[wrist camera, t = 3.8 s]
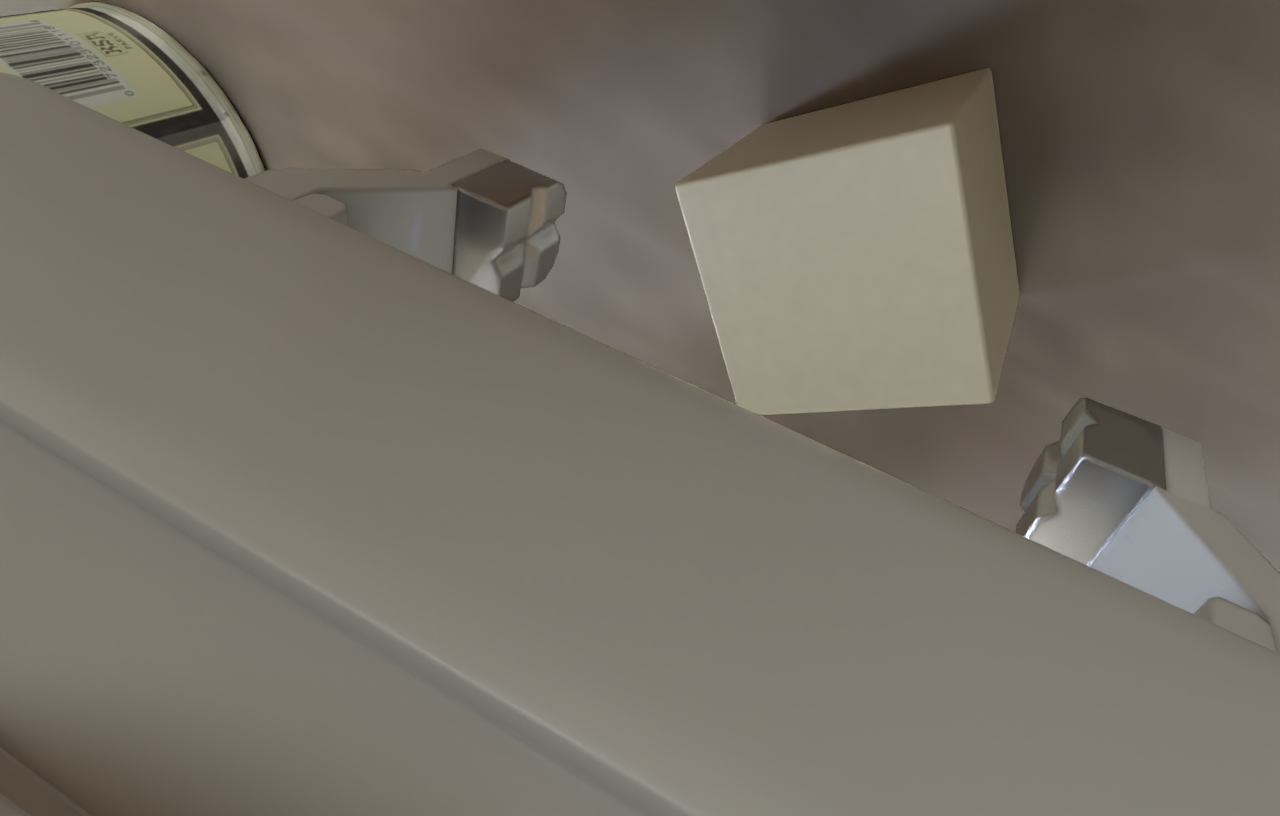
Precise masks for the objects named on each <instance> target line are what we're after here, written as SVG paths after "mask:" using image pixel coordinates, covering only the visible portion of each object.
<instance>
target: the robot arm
mask: <svg viewBox="0 0 1280 816" xmlns="http://www.w3.org/2000/svg"><path fill="white" fill-rule="evenodd" d="M566 195H567V193H566V190H565V187H564V184H563V183H561V182H558V181H556V180H554V179H551V178H549V177H547V176H545V175H542V174H540V173H538V172H535V171H533V170H531V169H528V168H526V167H524V166H521V165H519V164H517V163H514V162H512V161H510V160H509V159H507V158H504V157H502V156H499V155H496V154H494V153H491V152H488V151H485V150H483V149H479V150H477V151H474V152H472V153H469V154H467V155H465V156H462V157H460V158H457V159H455V160H453V161H450V162H448V163H445V164H443V165H441V166H438V167H436V168H433V169H431V170H429V171H426V172H424V173H421V172H419V171H417V170H383V169H270V170H267V171H264V172H261V173H258V174H255V175H253V176H250V177H247V178H244V179H243V178H241V177H239V176H237V175H234V174H232V173H230V172H228V171H226V170H224V169H221V168H219V167H217V166H215V165H213V164H210V163H208V162H206V161H204V160H202V159H200V158H197V157H195V156H193V155H191V154H189V153H186V152H184V151H182V150H180V149H178V148H175V147H173V146H171V145H169V144H167V143H165V142H162V141H160V140H158V139H156V138H154V137H151V136H149V135H147V134H145V133H143V132H141V131H138V130H136V129H134V128H132V127H130V126H127V125H125V124H123V123H121V122H119V121H117V120H114V119H112V118H110V117H108V116H106V115H103V114H101V113H99V112H97V111H95V110H93V109H90V108H88V107H86V106H84V105H82V104H79V103H77V102H75V101H73V100H71V99H69V98H67V97H65V96H63V95H61V94H59V93H57V92H55V91H53V90H51V89H49V88H47V87H45V86H43V85H40V84H38V83H36V82H34V81H31V80H29V79H27V78H23V77H20V76H17V75H13V74H7V73H1V72H0V816H1280V573H1279V572H1278V571H1277V570H1276V569H1275V568H1274V567H1273V566H1272V565H1271V564H1270V563H1269V561H1268V560H1267V559H1266V558H1265V557H1264V556H1263V555H1262V554H1261V553H1260V552H1259V551H1258V550H1257V549H1256V548H1255V547H1254V546H1253V545H1252V544H1251V543H1250V542H1249V541H1248V540H1247V539H1246V537H1245V536H1244V535H1243V534H1242V533H1241V532H1240V531H1239V530H1238V529H1237V528H1236V527H1235V526H1234V525H1233V524H1232V523H1231V522H1230V521H1229V520H1228V519H1227V518H1226V517H1225V516H1224V515H1222V514H1220V513H1218V512H1215V511H1213V510H1212V506H1211V500H1210V493H1209V487H1208V481H1207V474H1206V468H1205V462H1204V456H1203V449H1202V445H1201V444H1200V443H1199V442H1198V441H1196V440H1194V439H1191V438H1188V437H1185V436H1183V435H1180V434H1177V433H1174V432H1172V431H1169V430H1166V429H1163V428H1161V426H1159V425H1156V424H1154V423H1151V422H1148V421H1146V420H1143V419H1141V418H1138V417H1136V416H1133V415H1130V414H1128V413H1125V412H1123V411H1120V410H1117V409H1115V408H1112V407H1110V406H1107V405H1104V404H1102V403H1099V402H1097V401H1094V400H1091V399H1089V398H1080V399H1079V400H1078V401H1077V402H1076V404H1075V405H1074V406H1073V407H1072V408H1071V410H1070V411H1069V413H1068V414H1067V416H1066V417H1065V418H1064V420H1063V421H1062V428H1061V436H1060V441H1058V442H1055V443H1053V444H1050V445H1048V446H1046V447H1045V448H1044V450H1043V451H1042V453H1041V455H1040V456H1039V458H1038V459H1037V461H1036V463H1035V464H1034V466H1033V468H1032V470H1031V472H1030V474H1029V476H1028V478H1027V480H1026V482H1025V485H1024V488H1023V491H1022V495H1021V500H1020V506H1021V508H1022V509H1023V511H1024V512H1025V513H1024V514H1023V516H1022V517H1021V518H1020V520H1019V521H1018V523H1017V525H1016V532H1013V531H1011V530H1009V529H1006V528H1004V527H1002V526H1000V525H998V524H995V523H993V522H991V521H989V520H987V519H985V518H982V517H980V516H978V515H976V514H974V513H971V512H969V511H967V510H965V509H963V508H961V507H958V506H956V505H954V504H952V503H950V502H947V501H945V500H943V499H941V498H939V497H937V496H934V495H932V494H930V493H928V492H926V491H924V490H921V489H919V488H917V487H915V486H913V485H910V484H908V483H906V482H904V481H902V480H900V479H897V478H895V477H893V476H891V475H889V474H886V473H884V472H882V471H880V470H878V469H876V468H873V467H871V466H869V465H867V464H865V463H862V462H860V461H858V460H856V459H854V458H852V457H849V456H847V455H845V454H843V453H841V452H838V451H836V450H834V449H832V448H830V447H828V446H825V445H823V444H821V443H819V442H817V441H814V440H812V439H810V438H808V437H806V436H804V435H801V434H799V433H797V432H795V431H793V430H791V429H788V428H786V427H784V426H782V425H780V424H777V423H775V422H773V421H771V420H769V419H767V418H764V417H762V416H760V415H758V414H756V413H753V412H751V411H749V410H747V409H745V408H743V407H740V406H738V405H736V404H734V403H732V402H729V401H727V400H725V399H723V398H721V397H719V396H716V395H714V394H712V393H710V392H708V391H706V390H703V389H701V388H699V387H697V386H695V385H692V384H690V383H688V382H686V381H684V380H682V379H679V378H677V377H675V376H673V375H671V374H668V373H666V372H664V371H662V370H660V369H658V368H655V367H653V366H651V365H649V364H647V363H644V362H642V361H640V360H638V359H636V358H634V357H631V356H629V355H627V354H625V353H623V352H621V351H618V350H616V349H614V348H612V347H610V346H607V345H605V344H603V343H601V342H599V341H597V340H594V339H592V338H590V337H588V336H586V335H583V334H581V333H579V332H577V331H575V330H573V329H570V328H568V327H566V326H564V325H562V324H559V323H557V322H555V321H553V320H551V319H549V318H546V317H544V316H542V315H540V314H538V313H536V312H533V311H531V310H529V309H527V308H525V307H522V306H520V305H518V304H516V303H514V301H515V300H517V299H518V298H519V296H520V289H521V288H528V287H535V286H536V285H538V284H539V283H540V282H542V281H543V280H544V279H545V278H546V276H547V275H548V273H549V272H550V270H551V269H552V267H553V265H554V263H555V260H556V257H557V254H558V250H559V244H560V235H559V233H558V230H557V228H556V225H555V221H556V220H557V219H558V218H559V217H560V216H561V215H562V214H563V213H564V212H565V203H566Z"/></svg>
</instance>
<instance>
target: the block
mask: <svg viewBox="0 0 1280 816" xmlns="http://www.w3.org/2000/svg"><path fill="white" fill-rule="evenodd" d="M675 189H676V193H677V196H678V200H679V203H680V207H681V211H682V214H683V218H684V221H685V225H686V228H687V232H688V235H689V239H690V242H691V246H692V249H693V253H694V256H695V260H696V263H697V267H698V270H699V274H700V277H701V281H702V284H703V288H704V291H705V295H706V298H707V302H708V305H709V309H710V312H711V316H712V319H713V323H714V326H715V330H716V334H717V337H718V341H719V344H720V348H721V351H722V355H723V358H724V362H725V365H726V369H727V372H728V376H729V379H730V383H731V386H732V390H733V393H734V397H735V400H736V404H737V405H738V406H740V407H743V408H745V409H747V410H749V411H751V412H753V413H756V414H758V415H773V414H793V413H812V412H831V411H851V410H870V409H890V408H909V407H928V406H948V405H967V404H987V403H992V402H994V400H995V396H996V392H997V388H998V384H999V379H1000V375H1001V371H1002V367H1003V363H1004V359H1005V355H1006V350H1007V346H1008V342H1009V338H1010V334H1011V330H1012V326H1013V321H1014V317H1015V313H1016V309H1017V305H1018V301H1019V297H1020V293H1019V285H1018V277H1017V269H1016V261H1015V253H1014V245H1013V237H1012V229H1011V221H1010V213H1009V205H1008V197H1007V189H1006V181H1005V173H1004V165H1003V157H1002V150H1001V142H1000V134H999V126H998V118H997V110H996V102H995V94H994V86H993V78H992V71H991V70H990V69H988V68H986V69H982V70H978V71H974V72H970V73H966V74H962V75H958V76H954V77H950V78H946V79H942V80H938V81H934V82H930V83H926V84H922V85H918V86H914V87H910V88H906V89H902V90H898V91H894V92H890V93H887V94H883V95H879V96H875V97H871V98H867V99H863V100H859V101H855V102H851V103H847V104H843V105H839V106H835V107H831V108H827V109H823V110H819V111H815V112H811V113H807V114H803V115H799V116H795V117H791V118H787V119H783V120H779V121H775V122H771V123H767V124H763V125H762V126H760V127H759V128H757V129H756V130H754V131H753V132H751V133H750V134H748V135H747V136H746V137H744V138H743V139H741V140H740V141H738V142H737V143H735V144H734V145H732V146H731V147H729V148H728V149H727V150H725V151H724V152H722V153H721V154H719V155H718V156H716V157H715V158H713V159H712V160H710V161H709V162H708V163H706V164H705V165H703V166H702V167H700V168H699V169H697V170H696V171H694V172H693V173H691V174H690V175H689V176H687V177H686V178H684V179H683V180H681V181H680V182H678V183H677V184H676V185H675Z"/></svg>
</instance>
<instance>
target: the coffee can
mask: <svg viewBox="0 0 1280 816" xmlns="http://www.w3.org/2000/svg"><path fill="white" fill-rule="evenodd" d="M0 72H1V73H7V74H13V75H17V76H20V77H23V78H27V79H29V80H31V81H34V82H36V83H38V84H40V85H43V86H45V87H47V88H49V89H51V90H53V91H55V92H57V93H59V94H61V95H63V96H65V97H67V98H69V99H71V100H73V101H75V102H77V103H79V104H82V105H84V106H86V107H88V108H90V109H93V110H95V111H97V112H99V113H101V114H103V115H106V116H108V117H110V118H112V119H114V120H117V121H119V122H121V123H123V124H125V125H127V126H130V127H132V128H134V129H136V130H138V131H141V132H143V133H145V134H147V135H149V136H151V137H154V138H156V139H158V140H160V141H162V142H165V143H167V144H169V145H171V146H173V147H175V148H178V149H180V150H182V151H184V152H186V153H189V154H191V155H193V156H195V157H197V158H200V159H202V160H204V161H206V162H208V163H210V164H213V165H215V166H217V167H219V168H221V169H224V170H226V171H228V172H230V173H232V174H234V175H237V176H239V177H241V178H243V179H244V178H247V177H250V176H253V175H255V174H258V173H261V172H264V171H265V169H264V166H263V163H262V161H261V159H260V157H259V155H258V152H257V150H256V147H255V144H254V142H253V140H252V138H251V136H250V134H249V132H248V131H247V129H246V127H245V126H244V124H243V123H242V121H241V119H240V118H239V116H238V114H237V112H236V111H235V109H234V107H233V106H232V104H231V103H230V101H229V99H228V98H227V96H226V95H225V93H224V92H223V91H222V90H221V88H220V87H219V86H218V84H217V83H216V82H215V80H214V79H213V78H212V77H211V75H210V74H209V73H208V71H207V70H206V68H204V67H203V66H202V65H201V64H200V63H199V62H198V61H197V60H196V59H195V58H194V57H193V56H192V55H191V54H190V53H189V52H188V51H187V50H185V49H184V48H183V47H182V46H181V45H180V44H179V43H178V42H177V41H176V40H175V39H174V38H172V37H171V36H170V35H169V34H167V33H166V32H165V31H163V30H162V29H161V28H159V27H158V26H156V25H155V24H153V23H152V22H150V21H149V20H147V19H145V18H143V17H141V16H140V15H138V14H135V13H133V12H131V11H128V10H126V9H123V8H120V7H117V6H113V5H108V4H104V3H101V2H90V3H82V4H77V5H74V6H70V7H68V8H66V9H59V10H50V11H40V12H34V13H28V14H18V15H10V16H2V17H0Z"/></svg>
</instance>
